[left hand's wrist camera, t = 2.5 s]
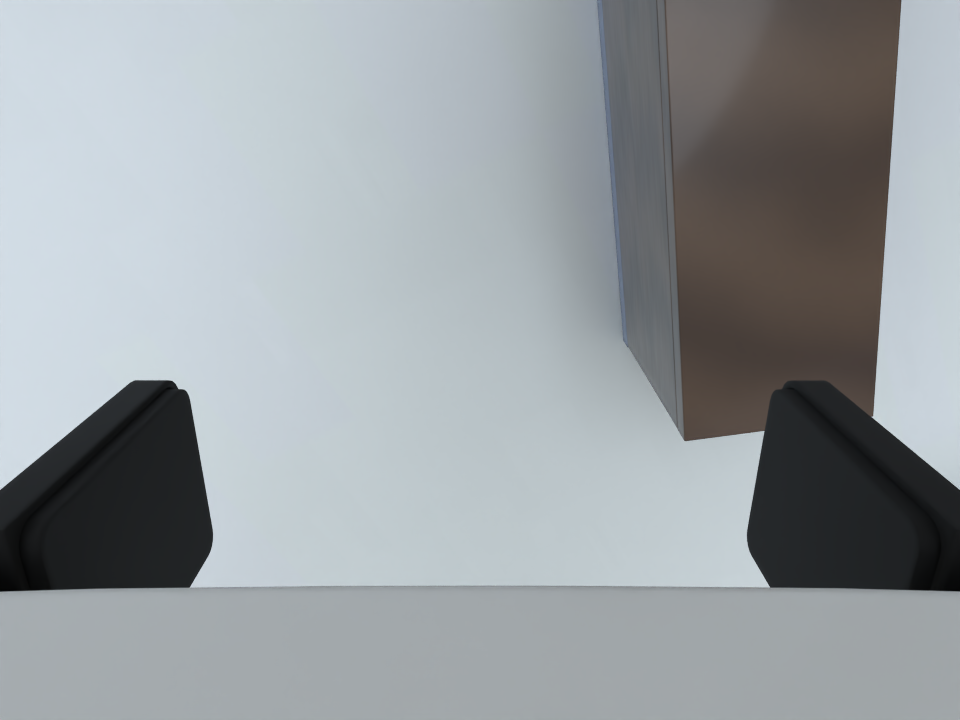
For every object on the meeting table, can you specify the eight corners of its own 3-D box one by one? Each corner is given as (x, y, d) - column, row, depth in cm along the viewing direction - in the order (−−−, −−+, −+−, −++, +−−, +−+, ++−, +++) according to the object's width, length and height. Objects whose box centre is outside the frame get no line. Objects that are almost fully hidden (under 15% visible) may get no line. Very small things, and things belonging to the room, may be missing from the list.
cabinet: (588, -111, 26) (653, -236, 17) (755, -141, 26) (922, -286, 16) (623, 340, 33) (683, 442, 23) (755, 321, 33) (873, 417, 23)
